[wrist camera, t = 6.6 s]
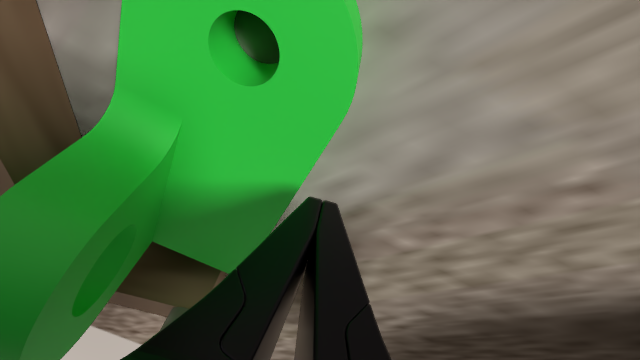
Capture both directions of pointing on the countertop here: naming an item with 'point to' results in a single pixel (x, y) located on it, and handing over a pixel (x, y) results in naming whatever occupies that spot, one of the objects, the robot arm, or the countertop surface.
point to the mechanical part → (174, 158)
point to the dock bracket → (58, 134)
